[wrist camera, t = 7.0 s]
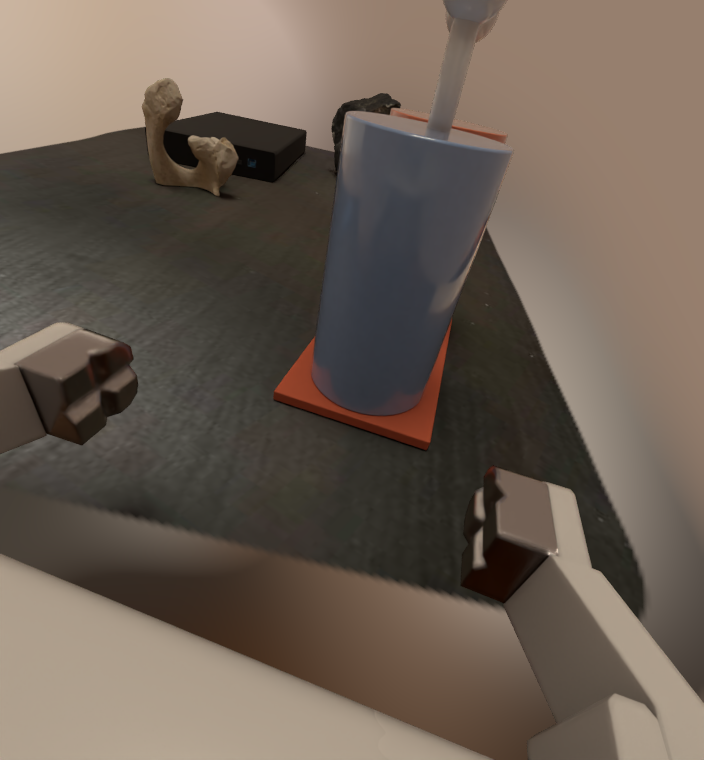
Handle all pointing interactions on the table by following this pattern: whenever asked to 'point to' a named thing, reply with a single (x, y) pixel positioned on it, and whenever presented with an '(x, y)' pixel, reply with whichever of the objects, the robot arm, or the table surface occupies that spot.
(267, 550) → the table surface
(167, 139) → the external hard drive
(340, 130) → the rock
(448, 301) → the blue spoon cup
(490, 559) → the robot arm
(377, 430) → the red mat
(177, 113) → the bone
